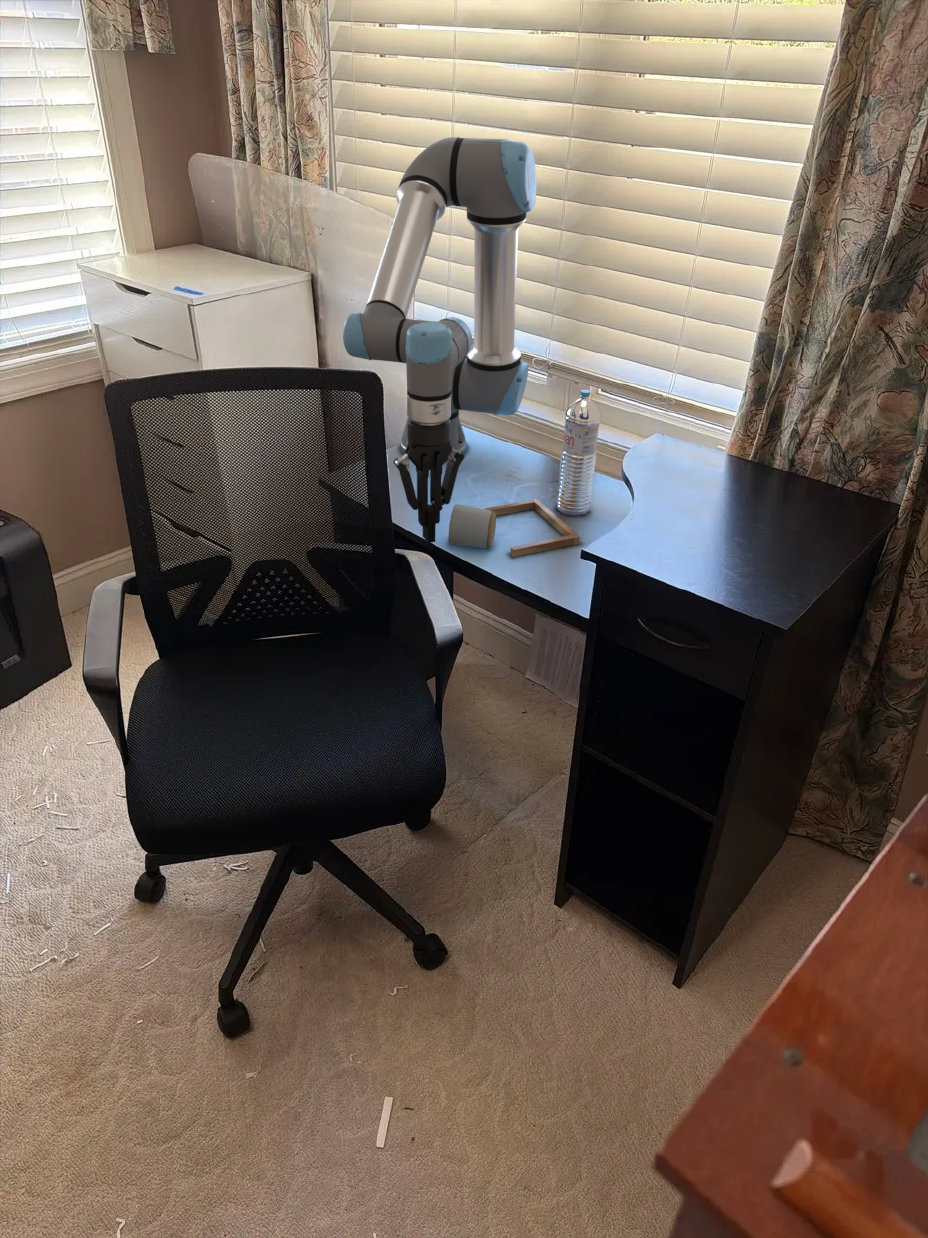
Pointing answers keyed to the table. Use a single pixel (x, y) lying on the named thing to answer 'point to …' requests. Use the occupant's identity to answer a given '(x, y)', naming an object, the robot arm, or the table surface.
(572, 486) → the water bottle
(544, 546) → the oak frame
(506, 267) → the robot arm
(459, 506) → the ceramic mug
